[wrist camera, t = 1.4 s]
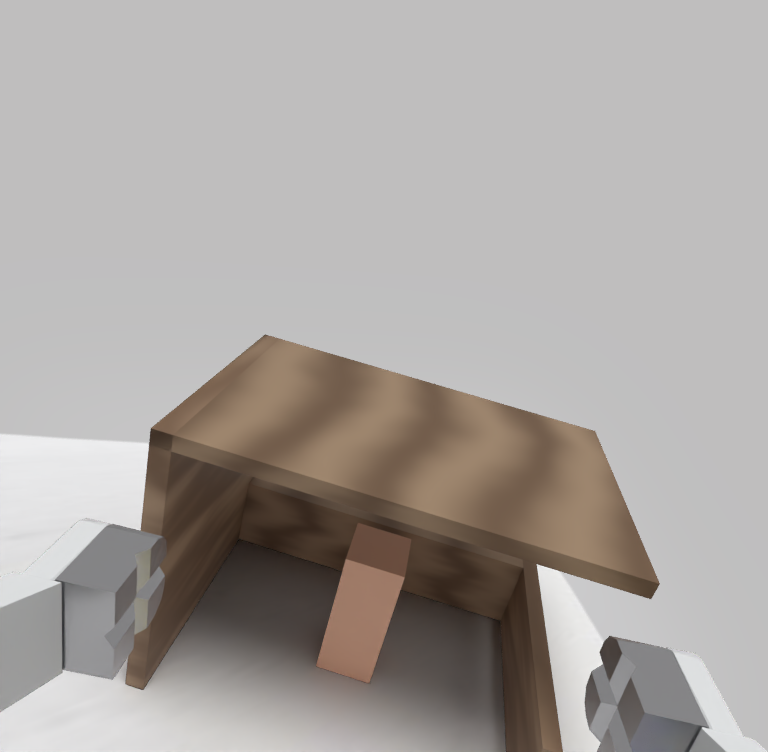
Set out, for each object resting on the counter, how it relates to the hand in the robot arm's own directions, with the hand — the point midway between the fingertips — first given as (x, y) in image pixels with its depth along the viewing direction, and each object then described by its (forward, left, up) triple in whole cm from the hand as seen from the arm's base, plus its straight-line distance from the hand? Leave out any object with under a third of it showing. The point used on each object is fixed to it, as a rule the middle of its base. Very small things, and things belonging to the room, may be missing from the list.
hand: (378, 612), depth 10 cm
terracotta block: (0, +24, -28) cm, 36 cm away
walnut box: (0, +25, -27) cm, 37 cm away
